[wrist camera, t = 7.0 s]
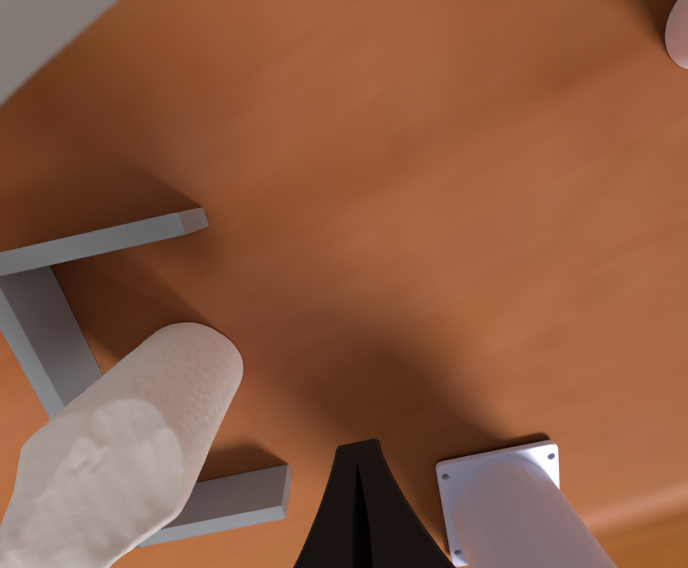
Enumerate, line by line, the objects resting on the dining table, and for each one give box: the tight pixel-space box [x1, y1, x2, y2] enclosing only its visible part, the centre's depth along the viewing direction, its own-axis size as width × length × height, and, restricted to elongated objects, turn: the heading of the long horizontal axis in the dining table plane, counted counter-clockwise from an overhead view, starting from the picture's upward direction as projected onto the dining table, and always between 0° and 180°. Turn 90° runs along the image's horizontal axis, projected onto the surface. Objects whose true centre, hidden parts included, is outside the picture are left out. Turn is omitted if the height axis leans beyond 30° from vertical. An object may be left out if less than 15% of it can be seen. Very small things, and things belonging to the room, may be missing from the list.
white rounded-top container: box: [0, 322, 243, 568], centre depth 14 cm, size 6×12×6 cm
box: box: [0, 207, 292, 548], centre depth 19 cm, size 18×10×3 cm, turn 12°
